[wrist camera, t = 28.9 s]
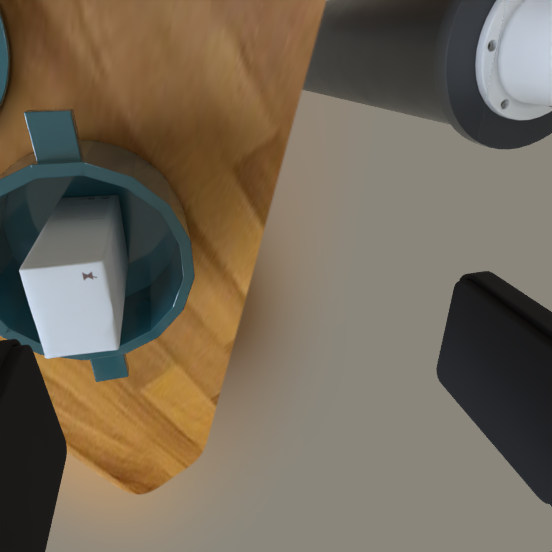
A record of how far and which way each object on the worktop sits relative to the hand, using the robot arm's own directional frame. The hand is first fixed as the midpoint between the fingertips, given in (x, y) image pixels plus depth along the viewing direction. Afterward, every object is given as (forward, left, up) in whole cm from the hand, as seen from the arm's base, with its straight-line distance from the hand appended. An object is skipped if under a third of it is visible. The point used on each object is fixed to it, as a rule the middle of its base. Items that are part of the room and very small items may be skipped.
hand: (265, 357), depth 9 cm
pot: (+8, +7, -27) cm, 29 cm away
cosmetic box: (+7, +7, -27) cm, 28 cm away
